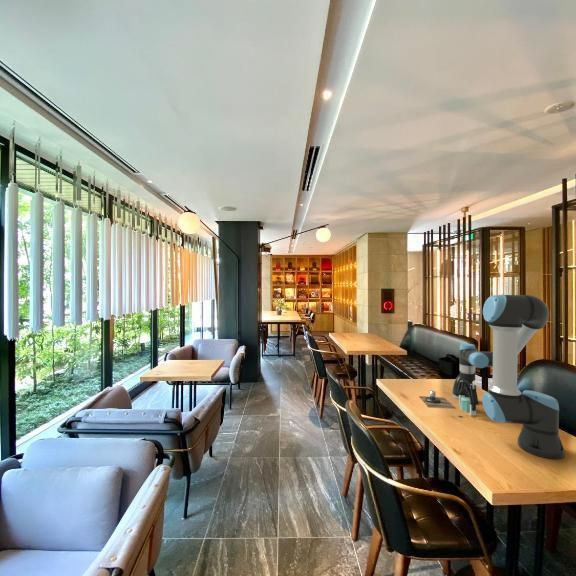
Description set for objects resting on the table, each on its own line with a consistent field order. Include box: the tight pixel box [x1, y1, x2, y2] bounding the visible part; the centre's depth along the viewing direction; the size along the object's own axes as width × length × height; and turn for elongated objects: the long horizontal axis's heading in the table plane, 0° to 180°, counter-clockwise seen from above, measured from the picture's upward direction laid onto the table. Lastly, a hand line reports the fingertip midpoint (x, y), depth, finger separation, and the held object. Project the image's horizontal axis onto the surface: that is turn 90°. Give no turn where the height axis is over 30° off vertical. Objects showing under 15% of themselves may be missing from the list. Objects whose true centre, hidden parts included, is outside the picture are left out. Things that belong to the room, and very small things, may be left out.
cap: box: [460, 397, 471, 413], centre depth 167 cm, size 6×6×7 cm
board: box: [418, 395, 457, 410], centre depth 179 cm, size 18×15×1 cm
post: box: [425, 390, 440, 403], centre depth 181 cm, size 8×8×6 cm
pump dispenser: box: [451, 374, 469, 401], centre depth 185 cm, size 10×10×15 cm
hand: (467, 411), depth 167 cm, fingers open, 12 cm apart
